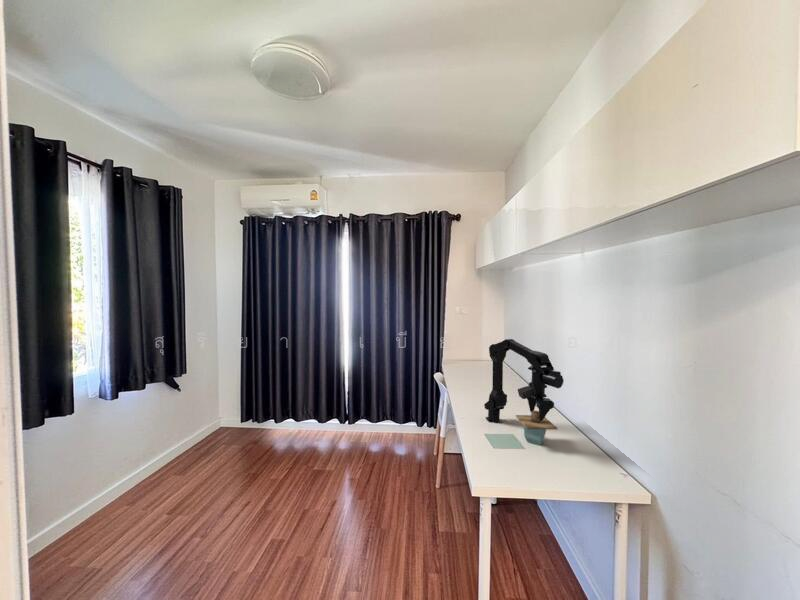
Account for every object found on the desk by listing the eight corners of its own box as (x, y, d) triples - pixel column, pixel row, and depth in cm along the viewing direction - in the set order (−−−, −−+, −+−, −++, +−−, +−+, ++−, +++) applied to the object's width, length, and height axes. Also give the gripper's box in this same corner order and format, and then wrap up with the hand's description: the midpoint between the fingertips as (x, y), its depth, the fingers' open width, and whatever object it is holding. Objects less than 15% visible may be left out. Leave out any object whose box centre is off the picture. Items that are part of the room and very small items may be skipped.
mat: (483, 434, 158) (483, 433, 158) (513, 435, 159) (513, 434, 159) (493, 449, 144) (493, 448, 144) (525, 449, 145) (525, 448, 145)
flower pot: (546, 441, 154) (547, 421, 153) (543, 449, 146) (544, 428, 146) (526, 436, 158) (527, 417, 158) (522, 443, 151) (523, 423, 150)
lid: (515, 416, 158) (516, 406, 158) (543, 417, 159) (543, 407, 158) (527, 429, 145) (527, 417, 145) (557, 429, 146) (557, 418, 145)
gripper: (512, 375, 160) (510, 408, 161) (529, 388, 141) (527, 424, 142) (535, 375, 160) (533, 408, 161) (555, 388, 142) (553, 425, 143)
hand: (536, 416), depth 152 cm, fingers open, 9 cm apart
